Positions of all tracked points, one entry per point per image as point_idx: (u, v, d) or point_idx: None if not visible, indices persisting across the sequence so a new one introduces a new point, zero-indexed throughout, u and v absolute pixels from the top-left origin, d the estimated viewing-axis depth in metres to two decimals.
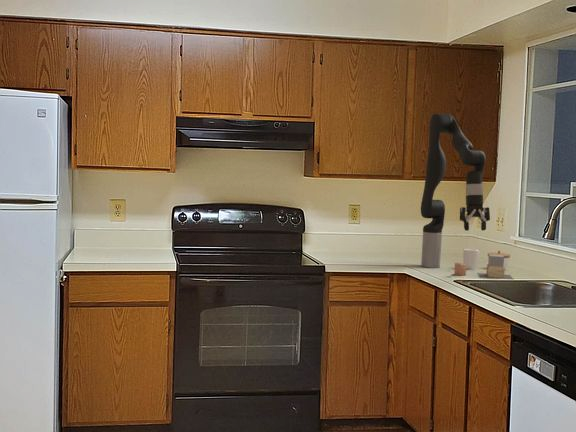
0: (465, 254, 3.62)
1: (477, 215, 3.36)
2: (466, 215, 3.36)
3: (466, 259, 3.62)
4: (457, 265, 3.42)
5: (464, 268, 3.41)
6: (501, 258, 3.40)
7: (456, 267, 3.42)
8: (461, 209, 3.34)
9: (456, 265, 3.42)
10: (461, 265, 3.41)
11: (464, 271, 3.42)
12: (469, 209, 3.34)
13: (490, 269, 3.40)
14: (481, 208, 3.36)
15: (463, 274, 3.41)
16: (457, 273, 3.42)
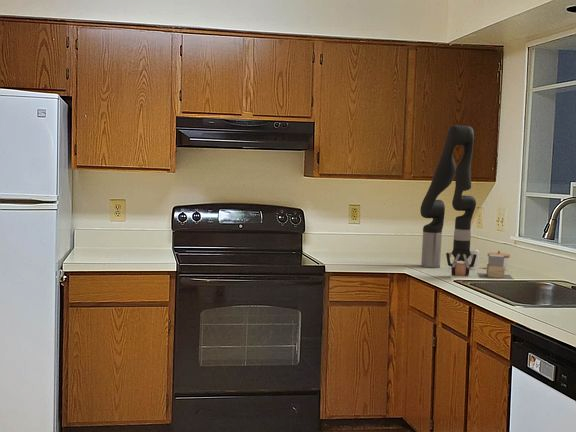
0: None
1: (461, 259, 3.42)
2: (454, 259, 3.44)
3: None
4: (457, 265, 3.42)
5: (464, 268, 3.41)
6: (501, 258, 3.40)
7: (456, 267, 3.42)
8: (446, 255, 3.44)
9: (456, 265, 3.42)
10: (461, 265, 3.41)
11: (464, 271, 3.41)
12: (453, 253, 3.42)
13: (490, 269, 3.40)
14: (468, 253, 3.41)
15: (463, 274, 3.41)
16: (457, 273, 3.42)
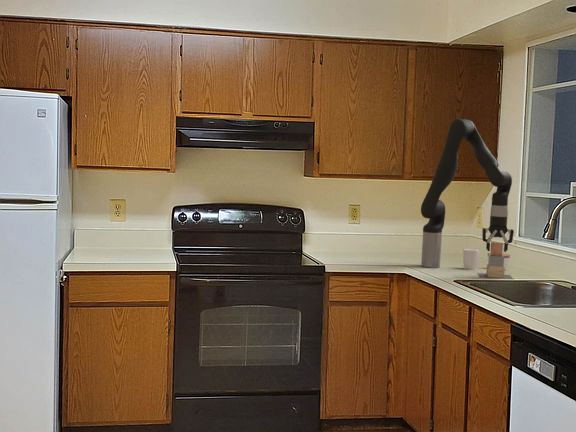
0: (465, 254, 3.62)
1: (498, 236, 3.41)
2: None
3: (466, 259, 3.62)
4: (494, 244, 3.40)
5: (501, 247, 3.40)
6: (501, 258, 3.40)
7: (493, 246, 3.41)
8: (482, 230, 3.43)
9: (493, 244, 3.41)
10: (498, 244, 3.40)
11: (501, 250, 3.40)
12: (490, 229, 3.41)
13: (490, 269, 3.40)
14: (504, 229, 3.40)
15: (500, 253, 3.40)
16: (493, 252, 3.41)
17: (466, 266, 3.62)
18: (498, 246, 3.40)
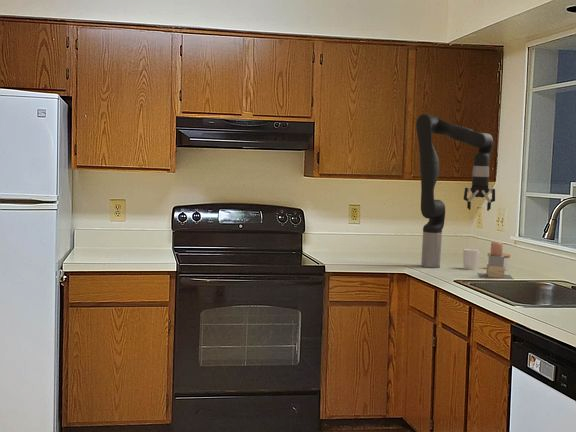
0: (465, 254, 3.62)
1: (481, 196, 3.50)
2: (471, 195, 3.53)
3: (466, 259, 3.62)
4: (494, 244, 3.40)
5: (501, 247, 3.40)
6: (501, 258, 3.40)
7: (493, 246, 3.41)
8: None
9: (493, 244, 3.41)
10: (498, 244, 3.40)
11: (501, 250, 3.40)
12: (472, 190, 3.51)
13: (490, 269, 3.40)
14: (486, 189, 3.50)
15: (500, 253, 3.40)
16: (493, 252, 3.41)
17: (466, 266, 3.62)
18: (498, 246, 3.40)
